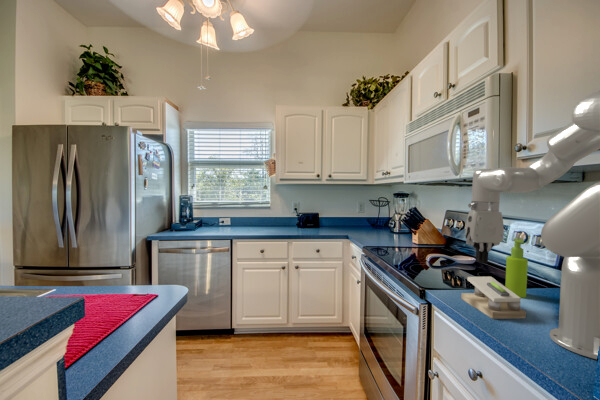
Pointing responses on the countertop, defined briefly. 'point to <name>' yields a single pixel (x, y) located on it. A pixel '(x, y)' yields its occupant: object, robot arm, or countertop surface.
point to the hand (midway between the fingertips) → (481, 262)
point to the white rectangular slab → (494, 289)
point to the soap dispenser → (516, 270)
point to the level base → (491, 313)
